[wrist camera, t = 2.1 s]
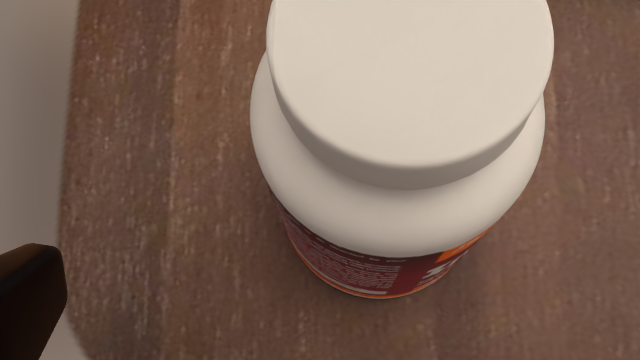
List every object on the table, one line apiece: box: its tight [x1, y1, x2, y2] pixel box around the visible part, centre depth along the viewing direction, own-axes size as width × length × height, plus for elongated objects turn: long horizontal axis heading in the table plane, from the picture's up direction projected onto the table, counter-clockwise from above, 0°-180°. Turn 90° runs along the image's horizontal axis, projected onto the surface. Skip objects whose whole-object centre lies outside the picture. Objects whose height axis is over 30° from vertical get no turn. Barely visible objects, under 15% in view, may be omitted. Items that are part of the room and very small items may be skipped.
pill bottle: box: [250, 0, 554, 299], centre depth 15 cm, size 6×6×11 cm
